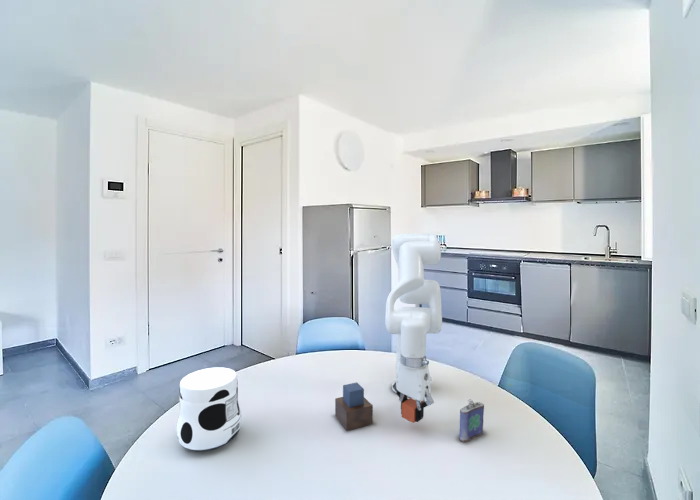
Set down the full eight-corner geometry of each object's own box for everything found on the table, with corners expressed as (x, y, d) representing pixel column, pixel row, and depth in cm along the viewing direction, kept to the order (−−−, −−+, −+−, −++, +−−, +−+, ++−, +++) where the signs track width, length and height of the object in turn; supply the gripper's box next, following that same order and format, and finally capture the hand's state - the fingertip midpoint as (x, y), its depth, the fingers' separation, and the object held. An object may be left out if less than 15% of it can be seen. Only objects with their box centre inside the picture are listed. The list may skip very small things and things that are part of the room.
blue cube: (356, 397, 111) (356, 382, 111) (363, 404, 107) (363, 388, 106) (342, 400, 109) (342, 385, 109) (349, 407, 104) (349, 392, 104)
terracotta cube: (410, 411, 107) (410, 397, 107) (422, 417, 104) (422, 403, 104) (401, 417, 104) (401, 403, 104) (413, 423, 101) (414, 409, 101)
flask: (464, 443, 97) (464, 406, 96) (456, 438, 99) (456, 402, 99) (485, 433, 101) (486, 398, 101) (477, 428, 104) (478, 394, 103)
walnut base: (359, 410, 114) (359, 392, 114) (372, 424, 106) (372, 405, 106) (335, 416, 111) (335, 398, 110) (346, 431, 102) (346, 412, 102)
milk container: (179, 428, 103) (177, 371, 102) (238, 416, 110) (237, 362, 109) (174, 464, 88) (172, 397, 86) (244, 448, 94) (243, 385, 93)
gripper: (444, 364, 99) (442, 423, 101) (397, 348, 111) (397, 401, 113) (430, 372, 94) (429, 434, 96) (383, 354, 106) (382, 410, 108)
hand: (411, 415), depth 104 cm, fingers closed on terracotta cube, 4 cm apart
